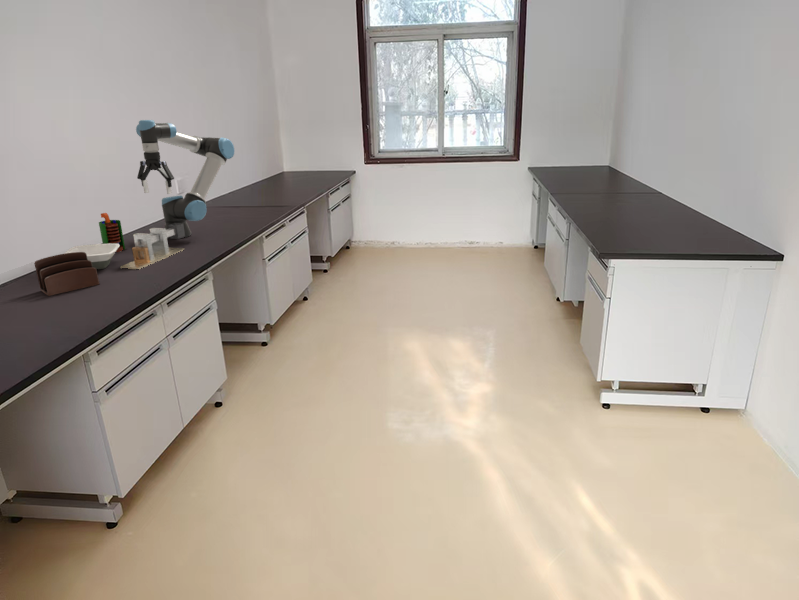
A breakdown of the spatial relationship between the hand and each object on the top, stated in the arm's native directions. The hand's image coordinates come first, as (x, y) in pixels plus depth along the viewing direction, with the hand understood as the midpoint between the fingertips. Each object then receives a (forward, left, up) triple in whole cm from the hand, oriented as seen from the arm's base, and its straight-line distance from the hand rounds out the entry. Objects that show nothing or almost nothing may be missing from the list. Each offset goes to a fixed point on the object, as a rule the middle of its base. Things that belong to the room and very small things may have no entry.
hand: (158, 193), depth 284 cm
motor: (-21, -15, -29) cm, 39 cm away
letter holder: (+4, -71, -29) cm, 77 cm away
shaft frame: (+10, -24, -29) cm, 39 cm away
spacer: (+10, -33, -28) cm, 44 cm away
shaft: (+10, -15, -23) cm, 29 cm away
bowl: (-9, -42, -29) cm, 52 cm away
